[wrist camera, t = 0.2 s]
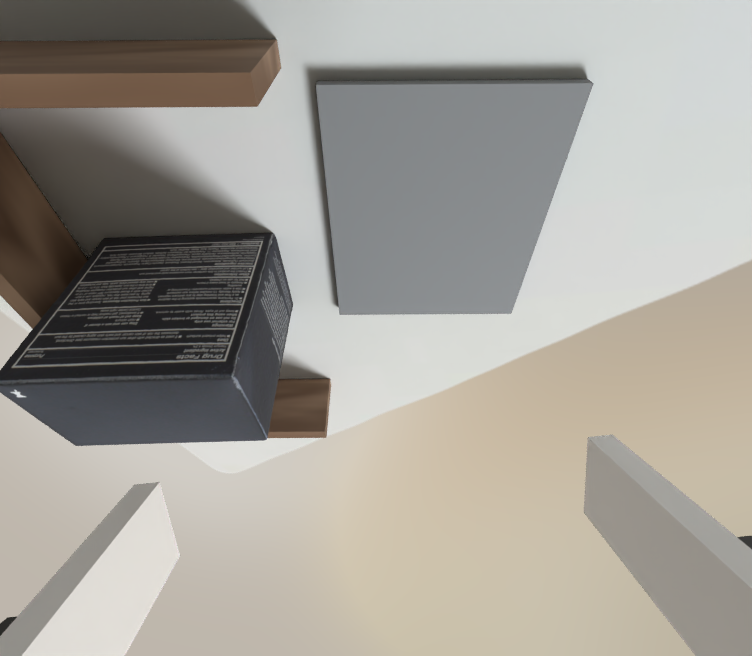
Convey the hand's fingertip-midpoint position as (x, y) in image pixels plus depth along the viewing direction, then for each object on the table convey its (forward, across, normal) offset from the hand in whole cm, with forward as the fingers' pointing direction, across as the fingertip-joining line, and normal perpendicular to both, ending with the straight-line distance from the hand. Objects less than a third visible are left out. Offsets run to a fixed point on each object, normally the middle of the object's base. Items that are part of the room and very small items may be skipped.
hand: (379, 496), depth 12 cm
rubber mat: (+13, +5, +8) cm, 16 cm away
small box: (+16, -10, +6) cm, 19 cm away
